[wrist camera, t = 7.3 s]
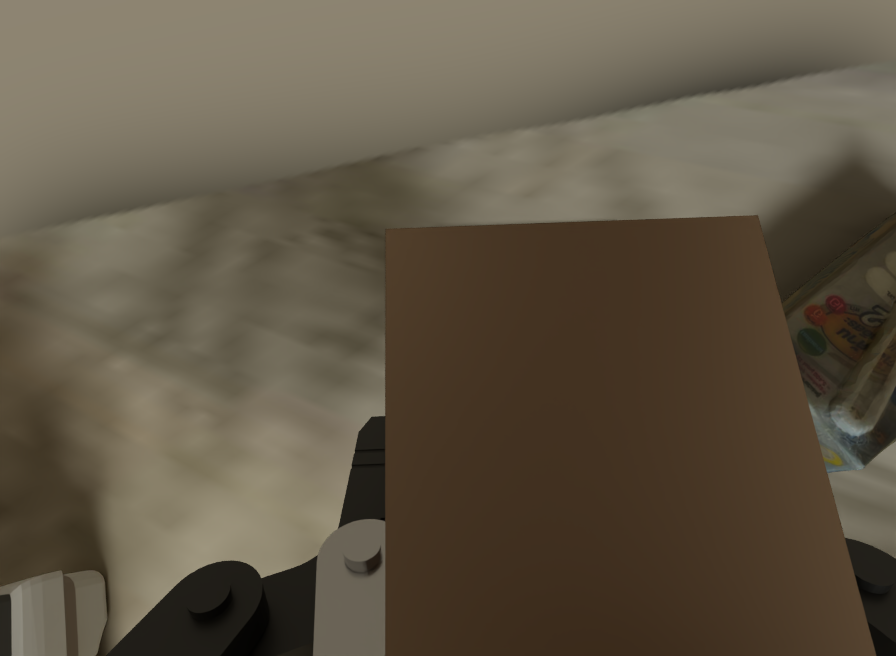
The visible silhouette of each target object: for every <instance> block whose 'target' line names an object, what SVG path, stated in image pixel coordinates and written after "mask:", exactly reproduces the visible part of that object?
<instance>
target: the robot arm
mask: <svg viewBox="0 0 896 656" xmlns="http://www.w3.org/2000/svg"><path fill="white" fill-rule="evenodd" d="M845 541H846V545H847V548H848V552H849V556H850V560H851V563H852V567H853V571H854V574H855V578H856V582H857V586H858V589H859V593H860V597H861V600H862V604H863V608H864V612H865V615H866V619H867V623H868V627H869V630H870V634H871V638H872V641H873V645H874V649H875V653H876V656H896V559H895V558H893V557H892V556H890V555H888V554H887V553H885V552H883V551H881V550H879V549H877V548H875V547H873V546H870V545H868V544H865V543H863V542H859V541H856V540H852V539H847V538H845ZM106 656H385V416H378V417H371V418H370V419H369V421H368V422H367V423H366V424H365V425H364V427H363V428H362V429H361V430H360V431H359V433H358V438H357V443H356V448H355V454H354V457H353V462H352V469H351V471H350V476H349V481H348V485H347V490H346V495H345V499H344V504H343V509H342V514H341V518H340V523H339V527H338V529H337V530H336V531H334V532H333V533H332V534H331V535H330V536H329V537H328V538H327V539H326V540H325V542H324V543H323V545H322V546H321V548H320V551H319V553H318V555H317V556H316V557H314V558H313V559H311V560H310V561H308V562H306V563H304V564H302V565H300V566H297V567H294V568H291V569H288V570H285V571H282V572H279V573H276V574H273V575H270V576H267V577H264V578H261V577H260V575H259V573H258V572H257V571H256V570H255V569H254V568H253V567H252V566H250V565H248V564H247V563H243V562H240V561H222V562H216V563H213V564H210V565H207V566H204V567H202V568H200V569H198V570H196V571H194V572H193V573H191V574H189V575H188V576H187V577H185V578H184V579H183V580H181V581H180V582H179V583H178V584H177V585H176V586H175V587H174V588H173V589H172V590H171V591H170V592H169V593H168V594H167V595H166V596H165V597H164V598H163V599H162V600H161V601H160V602H159V603H158V604H157V605H156V606H155V607H154V608H153V609H152V610H151V611H150V612H149V613H148V614H147V615H146V616H145V617H144V618H143V619H142V620H141V621H140V622H139V623H138V624H137V625H136V626H135V627H134V628H133V629H132V630H131V631H130V632H129V633H128V634H127V635H126V636H125V637H124V638H123V639H122V640H121V641H120V642H119V643H118V644H117V645H116V646H115V647H114V648H113V649H112V650H111V651H110V652H109V653H108V654H107V655H106Z"/></svg>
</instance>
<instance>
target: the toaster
mask: <svg viewBox="0 0 896 656" xmlns="http://www.w3.org/2000/svg"><path fill="white" fill-rule="evenodd" d="M106 621H107V607H106V592H105V581H104V578H103V576H102V575H101V574H100V573H99V572H97V571H94V570H87V571H80V572H75V573H69V574H63V573H62V570H61V571H55V572H51V573H47V574H43V575H39V576H35V577H31V578H28V579H24V580H21V581H18V582H14V583H11V584H7V585H4V586H1V587H0V656H96V654H97V653H98V649H99V644H100V641H101V637H102V633H103V630H104V627H105V624H106Z"/></svg>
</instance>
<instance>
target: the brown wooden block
mask: <svg viewBox="0 0 896 656" xmlns="http://www.w3.org/2000/svg"><path fill="white" fill-rule="evenodd" d="M385 656H876V653H875V649H874V645H873V641H872V638H871V634H870V630H869V627H868V623H867V619H866V615H865V612H864V608H863V604H862V600H861V597H860V593H859V589H858V586H857V582H856V578H855V574H854V571H853V567H852V563H851V560H850V556H849V552H848V548H847V545H846V541H845V537H844V534H843V530H842V526H841V522H840V519H839V515H838V511H837V508H836V504H835V500H834V496H833V493H832V489H831V485H830V482H829V478H828V474H827V470H826V467H825V463H824V459H823V456H822V452H821V448H820V444H819V441H818V437H817V433H816V430H815V426H814V422H813V418H812V415H811V411H810V407H809V404H808V400H807V396H806V392H805V389H804V385H803V381H802V378H801V374H800V370H799V366H798V363H797V359H796V355H795V351H794V348H793V344H792V340H791V337H790V333H789V329H788V325H787V322H786V318H785V314H784V311H783V307H782V303H781V299H780V296H779V292H778V288H777V285H776V281H775V277H774V273H773V270H772V266H771V262H770V259H769V255H768V251H767V247H766V244H765V240H764V236H763V233H762V229H761V225H760V221H759V218H758V215H754V216H727V217H700V218H673V219H645V220H618V221H591V222H563V223H536V224H509V225H482V226H454V227H427V228H400V229H386V333H385Z"/></svg>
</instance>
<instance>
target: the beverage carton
mask: <svg viewBox="0 0 896 656" xmlns="http://www.w3.org/2000/svg"><path fill="white" fill-rule="evenodd" d="M782 307H783V311H784V314H785V318H786V322H787V325H788V329H789V333H790V337H791V340H792V344H793V348H794V351H795V355H796V359H797V363H798V366H799V370H800V374H801V378H802V381H803V385H804V389H805V392H806V396H807V400H808V404H809V407H810V411H811V415H812V418H813V422H814V426H815V430H816V433H817V437H818V441H819V444H820V448H821V452H822V456H823V459H824V463H825V467H826V470H827V473H830V472H838V471H848V470H861V469H863V468H865V466H866V465H867V464H868V463H869V462H870V461H871V460H872V459H874V458H875V457H876V456H877V455H878V454H879V453H881V452H882V451H883V450H884V449H886V448H887V447H888V446H889V445H891V444H892V443H894V442H895V441H896V213H895V214H893V215H892V216H890V217H889V218H887V219H886V220H885V221H884V222H882V223H881V224H880V225H878V226H877V227H876V228H874V229H873V230H872V231H870V232H869V233H868V234H866V235H865V236H864V237H863V238H861V239H860V240H859V241H858V242H856V243H855V244H854V245H853V246H852V247H850V248H849V249H848V250H847V251H845V252H844V253H843V254H842V255H840V256H839V257H838V258H837V259H836V260H834V261H833V262H832V263H830V264H829V265H828V266H827V267H826V268H824V269H823V270H822V271H821V272H819V273H818V274H817V275H816V276H814V277H813V278H812V279H811V280H809V281H808V282H807V283H806V284H804V285H803V286H802V287H801V288H799V289H798V290H797V291H796V292H795V293H793V294H792V295H791V296H790V297H789V298H788V299H786V300H785V301H784V302H783V303H782Z"/></svg>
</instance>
